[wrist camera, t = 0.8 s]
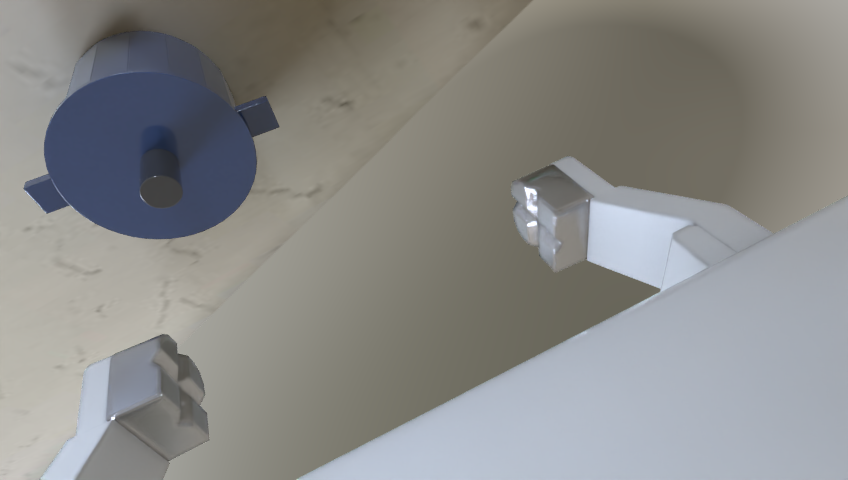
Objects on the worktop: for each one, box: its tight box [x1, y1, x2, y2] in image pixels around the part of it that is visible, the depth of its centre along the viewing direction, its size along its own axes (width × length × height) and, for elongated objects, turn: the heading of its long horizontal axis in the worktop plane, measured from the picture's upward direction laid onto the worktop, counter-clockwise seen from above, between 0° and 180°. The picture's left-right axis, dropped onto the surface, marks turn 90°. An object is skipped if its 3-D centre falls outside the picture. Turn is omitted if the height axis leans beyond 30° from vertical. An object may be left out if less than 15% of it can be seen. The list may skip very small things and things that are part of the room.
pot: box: [23, 31, 279, 214], centre depth 40 cm, size 13×18×10 cm
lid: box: [44, 69, 257, 239], centre depth 35 cm, size 14×14×5 cm
